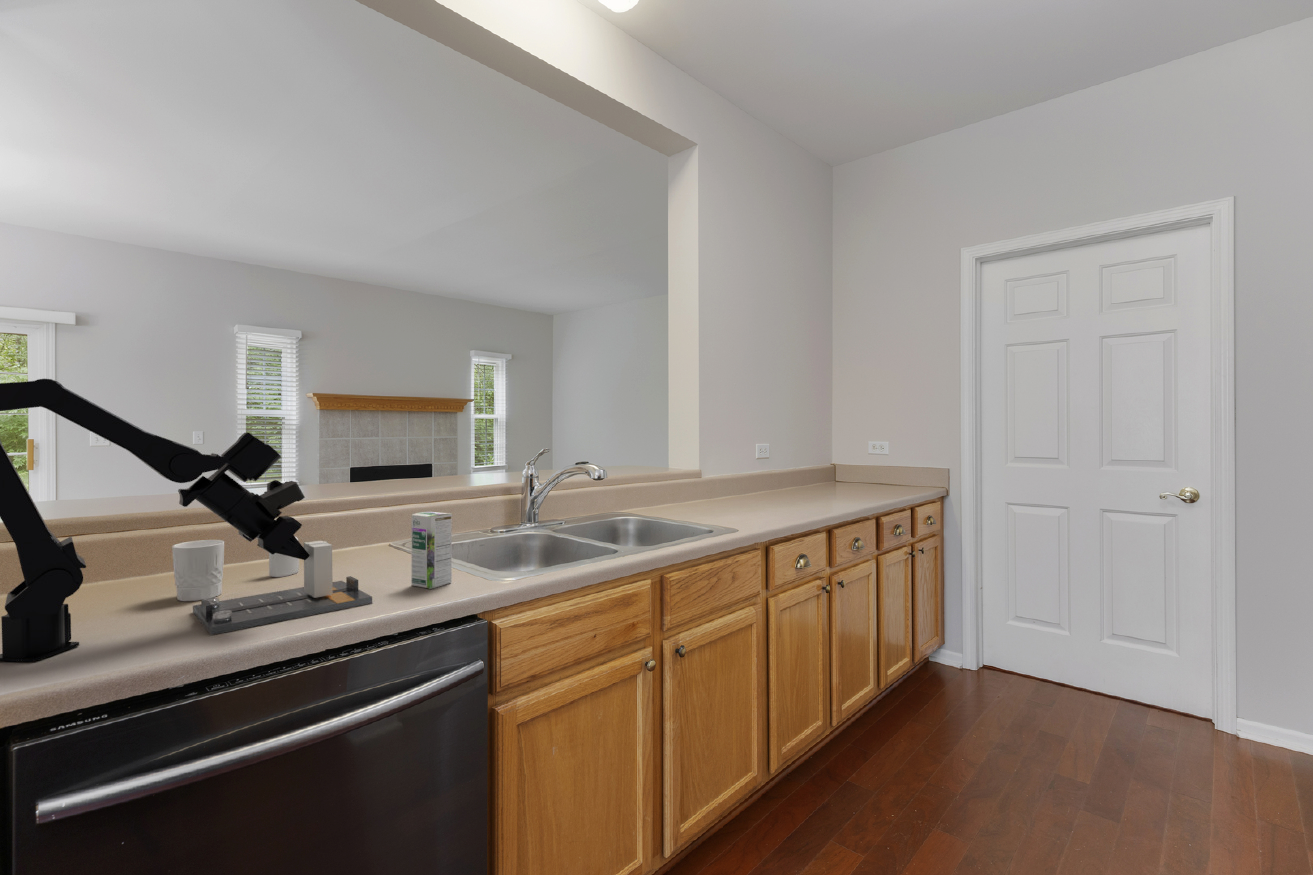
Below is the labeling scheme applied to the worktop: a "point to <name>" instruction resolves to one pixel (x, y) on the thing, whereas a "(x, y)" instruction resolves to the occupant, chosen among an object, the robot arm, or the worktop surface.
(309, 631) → the worktop surface
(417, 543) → the syrup box
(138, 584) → the worktop surface
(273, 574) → the eye dropper bottle
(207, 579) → the white cup
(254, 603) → the board
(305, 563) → the fader
